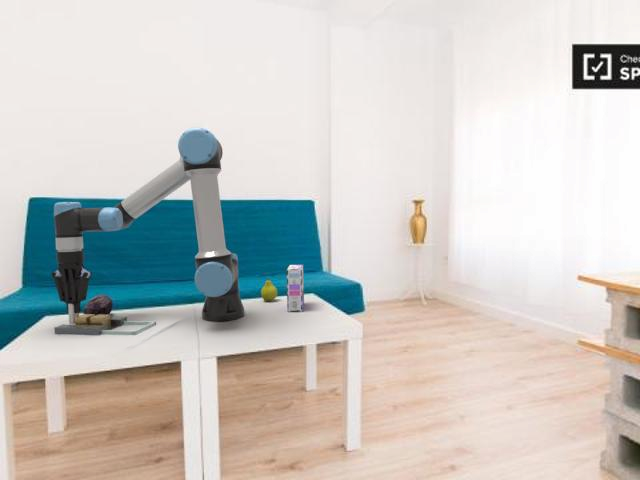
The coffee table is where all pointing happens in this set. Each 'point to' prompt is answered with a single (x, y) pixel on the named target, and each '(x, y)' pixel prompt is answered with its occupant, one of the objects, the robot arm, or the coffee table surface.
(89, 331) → the rail
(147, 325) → the tray
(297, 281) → the candy box
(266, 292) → the fruit
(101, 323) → the brass block
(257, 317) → the coffee table surface
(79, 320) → the brass block
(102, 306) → the rock
